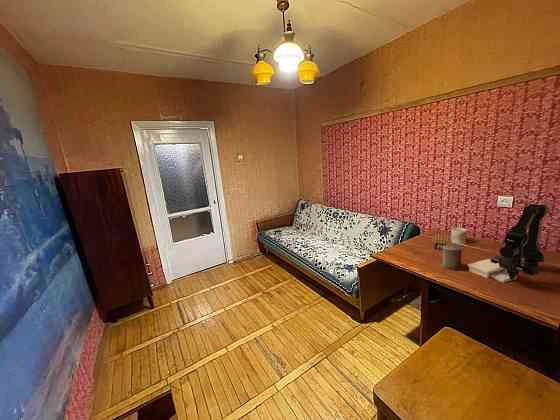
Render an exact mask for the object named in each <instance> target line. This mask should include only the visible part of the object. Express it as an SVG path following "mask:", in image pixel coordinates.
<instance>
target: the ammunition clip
mask: <svg viewBox="0 0 560 420" xmlns="http://www.w3.org/2000/svg"><path fill="white" fill-rule="evenodd" d="M444 245H453V243H452V240H451V234H450V235H446V234H444V235H443V234H441V235H440V234H435V237H434V248H433V250H437V249H439V251H443V246H444Z"/></svg>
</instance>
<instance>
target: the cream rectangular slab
mask: <svg viewBox="0 0 560 420" xmlns="http://www.w3.org/2000/svg"><path fill="white" fill-rule="evenodd" d="M490 261H491V258H486V259H483V260H478V261H475V262H472V263H467V267H469V268H468V272H471V273H474V274H476V275H479V276H481V277H483V278H486V279H489V278H490V277H489V273H492V272H496V271H499V270H501V271H504V272H506V273H508V272H507V270H506V269H505V268H502V267H499V263H497V264H495V263H492V262H490Z"/></svg>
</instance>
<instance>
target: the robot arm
mask: <svg viewBox="0 0 560 420" xmlns="http://www.w3.org/2000/svg"><path fill="white" fill-rule="evenodd" d="M549 212H550V207H549V206H547V205H546V204H538V203H537V204H535V203H530V204H529V205H524V208H523V212H522V214H521V216H520V217H519V219H518V221H517V222H516V224H515V225H513V226H511V227H510V228H509V230H508V231H506V233H505V236H504V238H503V239H502V244H505V245H504V246H502V247H501V248H500V249H499V254H500V256H499V255H497V256H492V257H491V258H490V260H491V261H490V262H492V263H495V264H497V263H499V267H502V268H505V269H506V270H507V273H508V274H509V277H510V279H512V280H511V281H514V280H515V279H514V278H515V277H516V276H517V277H518V275H519V274H520V273H521V272H522V273H523V274H524V275H529V276H534V275H538V274H540V272H541V271H542V268H540V267H539V264H540V263H544V262H545V255H544V252H543V248H542V247H541V245H540V243H539V241H540V235H541V227H542V220H543V219H545V218H546V217H547V215H548V214H549ZM513 279H514V280H513Z"/></svg>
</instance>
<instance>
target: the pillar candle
mask: <svg viewBox="0 0 560 420" xmlns="http://www.w3.org/2000/svg"><path fill="white" fill-rule="evenodd" d="M462 250H463V248H462V247H461V246H460V245H457V244H451V245H444V246H443V250H442V267H443V268H444V269H446V270H450V271H460V270H461V269H462V267H461V265H462V252H463V251H462Z"/></svg>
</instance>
